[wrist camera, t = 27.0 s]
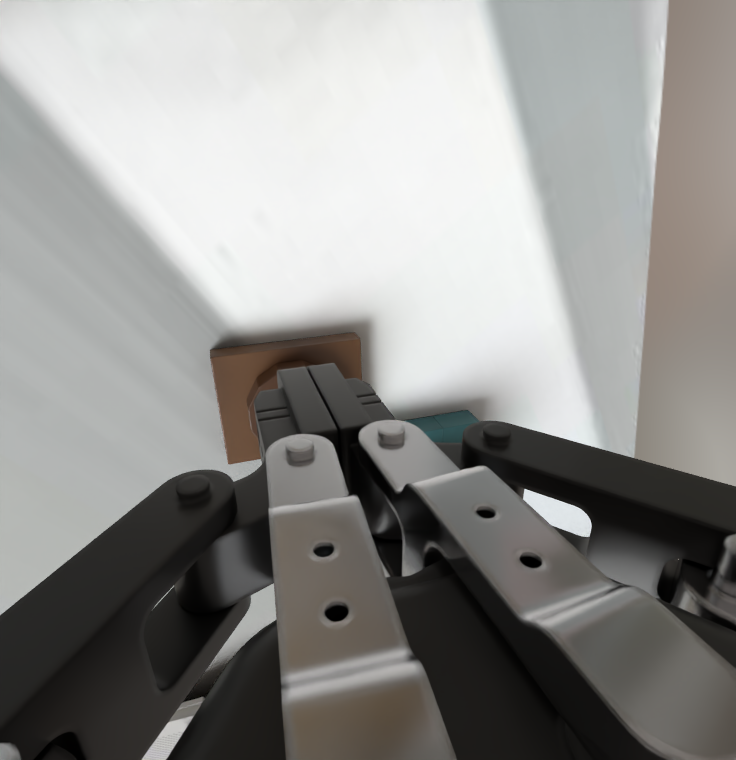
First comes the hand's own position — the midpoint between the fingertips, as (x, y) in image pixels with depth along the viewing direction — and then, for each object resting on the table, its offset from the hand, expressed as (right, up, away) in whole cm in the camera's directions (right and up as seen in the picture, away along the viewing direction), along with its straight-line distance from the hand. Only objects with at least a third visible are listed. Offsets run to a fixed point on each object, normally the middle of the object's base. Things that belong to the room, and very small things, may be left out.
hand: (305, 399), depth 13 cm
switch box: (-5, -1, +27) cm, 27 cm away
